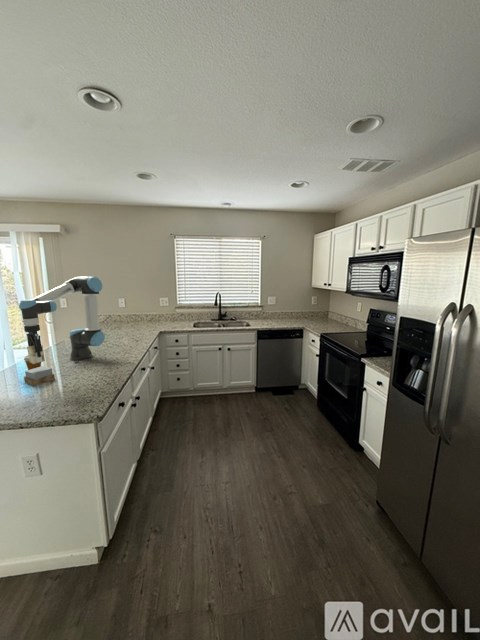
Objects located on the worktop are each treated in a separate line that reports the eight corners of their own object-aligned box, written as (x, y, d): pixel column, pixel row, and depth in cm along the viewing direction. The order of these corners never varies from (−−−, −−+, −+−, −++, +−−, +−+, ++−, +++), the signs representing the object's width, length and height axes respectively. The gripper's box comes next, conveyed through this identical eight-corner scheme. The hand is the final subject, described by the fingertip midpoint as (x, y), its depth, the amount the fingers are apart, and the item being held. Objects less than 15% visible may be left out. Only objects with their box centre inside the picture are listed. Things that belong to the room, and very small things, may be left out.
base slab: (46, 376, 174) (45, 370, 173) (55, 380, 167) (54, 374, 167) (24, 382, 164) (23, 376, 163) (32, 387, 157) (31, 380, 157)
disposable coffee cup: (29, 371, 181) (26, 354, 179) (45, 369, 185) (43, 353, 182) (23, 376, 173) (21, 359, 170) (41, 374, 176) (38, 357, 174)
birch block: (40, 359, 167) (38, 344, 165) (44, 361, 164) (42, 345, 162) (29, 362, 162) (26, 346, 160) (33, 363, 159) (31, 348, 157)
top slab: (43, 371, 171) (42, 365, 170) (52, 374, 167) (51, 368, 166) (25, 377, 162) (24, 371, 161) (35, 379, 158) (34, 373, 157)
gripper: (17, 324, 161) (23, 360, 165) (30, 327, 150) (36, 365, 155) (32, 322, 167) (37, 356, 171) (45, 325, 157) (50, 362, 161)
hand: (37, 361), depth 163 cm, fingers closed on birch block, 6 cm apart
